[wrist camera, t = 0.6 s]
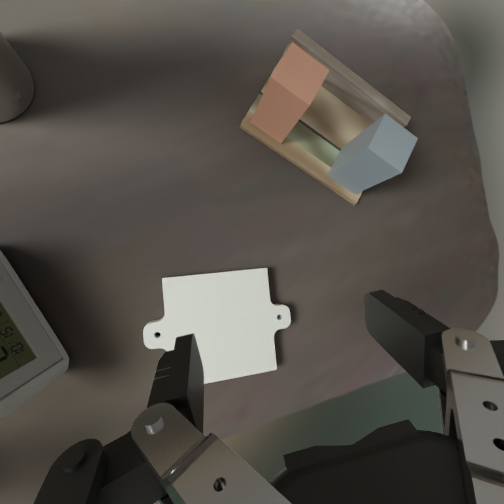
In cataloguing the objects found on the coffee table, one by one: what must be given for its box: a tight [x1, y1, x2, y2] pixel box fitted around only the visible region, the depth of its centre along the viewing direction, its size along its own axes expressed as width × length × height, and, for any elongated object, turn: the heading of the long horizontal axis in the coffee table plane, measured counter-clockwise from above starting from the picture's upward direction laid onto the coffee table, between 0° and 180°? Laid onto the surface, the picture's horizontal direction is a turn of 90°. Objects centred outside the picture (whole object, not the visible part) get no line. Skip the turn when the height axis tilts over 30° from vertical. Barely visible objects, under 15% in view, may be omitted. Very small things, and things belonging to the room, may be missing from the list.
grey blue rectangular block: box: [327, 114, 418, 194], centre depth 36 cm, size 5×5×9 cm
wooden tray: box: [239, 28, 411, 205], centre depth 39 cm, size 14×20×4 cm
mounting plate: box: [143, 268, 291, 384], centre depth 35 cm, size 18×13×2 cm
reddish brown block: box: [250, 42, 330, 143], centre depth 34 cm, size 5×5×9 cm
